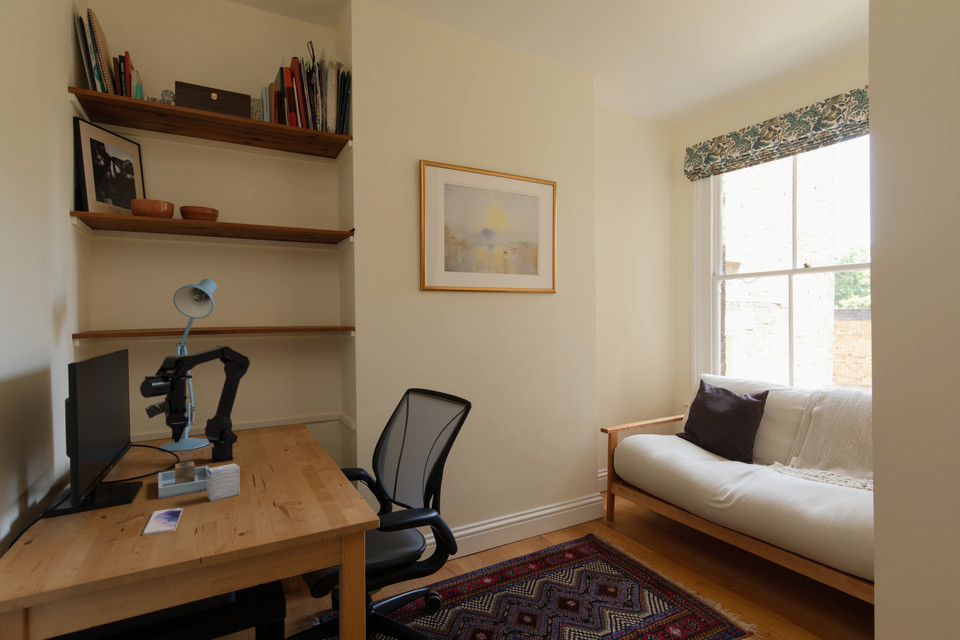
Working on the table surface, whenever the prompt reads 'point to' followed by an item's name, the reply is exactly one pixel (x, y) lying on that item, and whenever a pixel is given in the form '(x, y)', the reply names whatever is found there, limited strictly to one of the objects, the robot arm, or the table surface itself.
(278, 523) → the table surface
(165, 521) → the smartphone
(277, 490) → the table surface
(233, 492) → the medicine box
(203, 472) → the tray
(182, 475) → the walnut block
